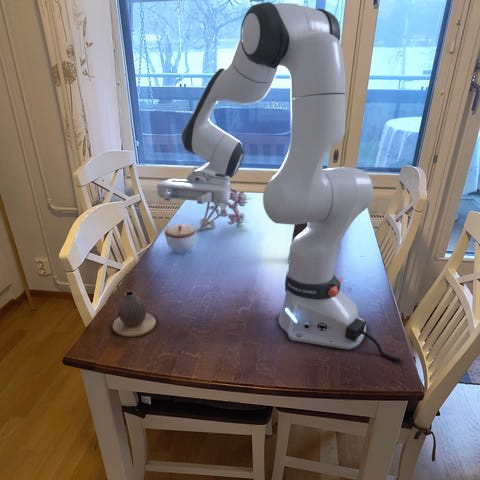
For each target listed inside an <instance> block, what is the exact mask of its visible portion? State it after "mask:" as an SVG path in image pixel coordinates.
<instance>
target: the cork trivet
mask: <svg viewBox="0 0 480 480" xmlns="http://www.w3.org/2000/svg"><path fill="white" fill-rule="evenodd" d="M156 324H157V321H156V318H155V316H153V315H152V314H150V313H148V312H146V316H145V319H144V321H143V322H142V323H141V324H140V325H138V326H134V327H130V326H127V325H125V324H124V323H123V322H122V321H121V319H120V317H119V316H118V317H117V318H116V319H115V320H114V321H113V322H112V330H113V332H114V333H115V334H117V335H119V336H120V337H121V336H122V337H128V338H129V337H140V336H143V335H145V334H148V333H149V332H151V331H152V330H154V328H155V326H156Z"/></svg>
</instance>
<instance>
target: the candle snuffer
mask: <svg viewBox="0 0 480 480" xmlns="http://www.w3.org/2000/svg"><path fill="white" fill-rule="evenodd" d="M308 224H309V223H303V224H297V225H293V226H294V227H293V233H292V238H291V242H290V244H291V243H292V241H293V239H294V238H295V237H296V236H297V235H298V234H300V233H301V232H302V231H303V230H304V229H305V228H306V227H307V226H308ZM289 253H290V251H289ZM289 253H288V254H289ZM287 257H288V258H287V260H288V261H289V256H287Z"/></svg>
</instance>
